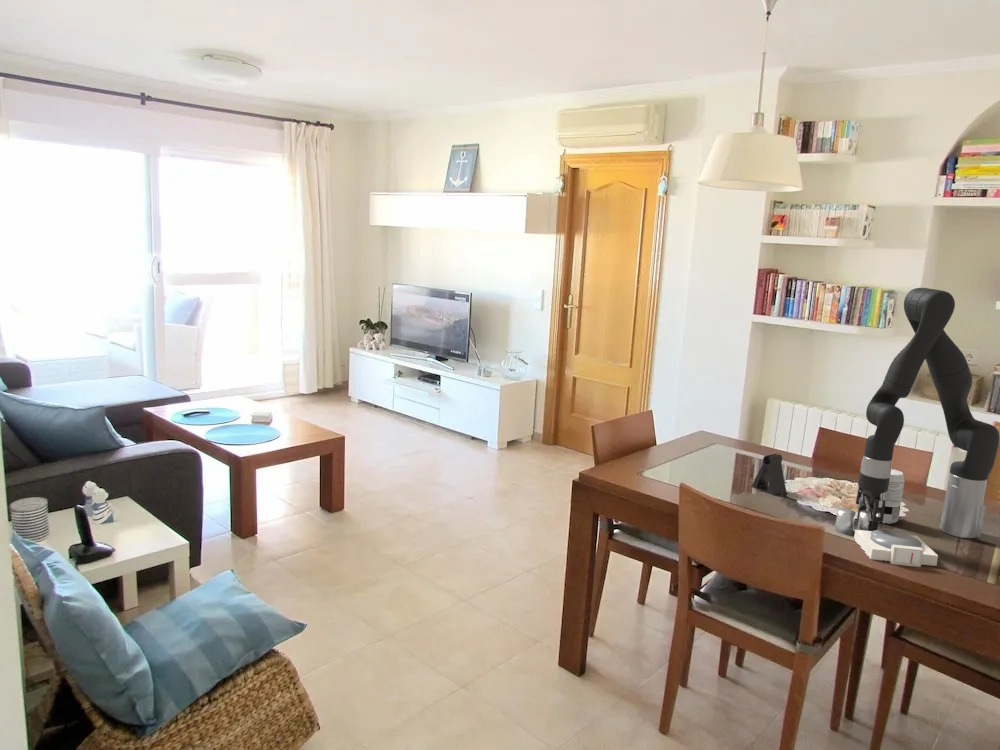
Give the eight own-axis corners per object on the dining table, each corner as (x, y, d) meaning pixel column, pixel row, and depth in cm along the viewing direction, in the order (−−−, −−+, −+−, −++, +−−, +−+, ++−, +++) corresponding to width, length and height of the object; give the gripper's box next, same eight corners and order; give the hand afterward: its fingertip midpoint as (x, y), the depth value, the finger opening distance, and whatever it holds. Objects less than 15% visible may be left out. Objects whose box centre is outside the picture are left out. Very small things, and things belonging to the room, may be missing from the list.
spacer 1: (849, 528, 209) (852, 509, 207) (854, 535, 204) (858, 515, 203) (832, 527, 209) (835, 507, 208) (837, 533, 205) (840, 513, 204)
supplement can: (863, 518, 217) (870, 470, 214) (872, 512, 223) (880, 465, 220) (892, 526, 212) (900, 477, 209) (901, 520, 217) (909, 472, 215)
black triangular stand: (751, 487, 241) (755, 452, 238) (762, 484, 244) (767, 450, 242) (774, 495, 233) (779, 459, 231) (786, 492, 237) (790, 457, 234)
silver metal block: (871, 530, 208) (874, 511, 207) (877, 537, 203) (880, 517, 202) (854, 529, 208) (857, 509, 207) (860, 535, 204) (863, 515, 203)
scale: (915, 545, 199) (917, 529, 198) (940, 569, 184) (943, 552, 184) (853, 539, 201) (856, 523, 200) (873, 562, 186) (876, 545, 186)
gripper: (899, 482, 195) (889, 539, 198) (879, 466, 209) (871, 519, 212) (870, 479, 196) (861, 536, 199) (852, 464, 210) (844, 516, 213)
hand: (866, 527), depth 205 cm, fingers open, 8 cm apart
